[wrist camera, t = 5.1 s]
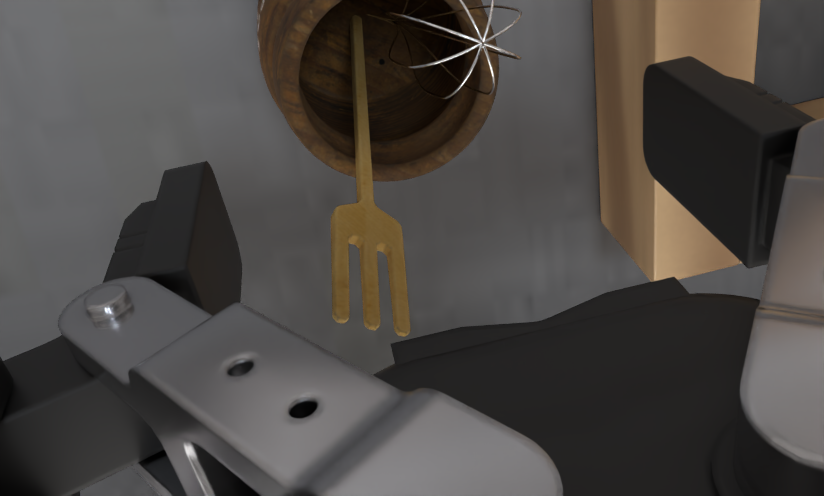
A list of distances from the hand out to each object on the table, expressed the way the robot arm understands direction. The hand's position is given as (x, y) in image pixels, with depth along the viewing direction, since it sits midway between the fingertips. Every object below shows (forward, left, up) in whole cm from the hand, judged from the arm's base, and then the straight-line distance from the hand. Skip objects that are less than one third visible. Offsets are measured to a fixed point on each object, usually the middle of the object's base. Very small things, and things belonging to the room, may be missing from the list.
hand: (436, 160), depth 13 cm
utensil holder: (0, 0, -11) cm, 11 cm away
